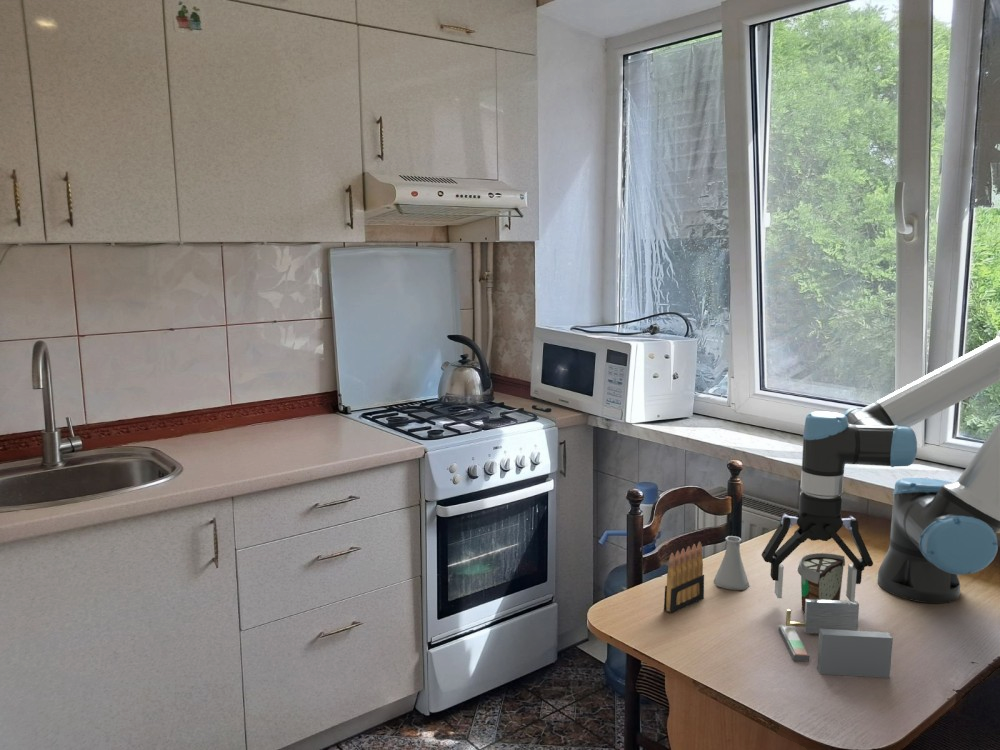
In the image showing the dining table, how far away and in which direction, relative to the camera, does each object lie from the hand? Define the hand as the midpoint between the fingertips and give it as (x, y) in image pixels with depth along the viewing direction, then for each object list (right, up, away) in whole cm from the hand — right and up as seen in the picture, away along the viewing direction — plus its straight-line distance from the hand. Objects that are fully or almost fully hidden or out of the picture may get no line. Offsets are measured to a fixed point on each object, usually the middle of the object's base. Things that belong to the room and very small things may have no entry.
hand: (814, 597), depth 156 cm
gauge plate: (-3, -3, -10) cm, 11 cm away
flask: (-13, -1, +12) cm, 17 cm away
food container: (0, -2, 0) cm, 2 cm away
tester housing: (-4, -5, -17) cm, 18 cm away
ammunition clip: (-25, -2, +2) cm, 25 cm away
